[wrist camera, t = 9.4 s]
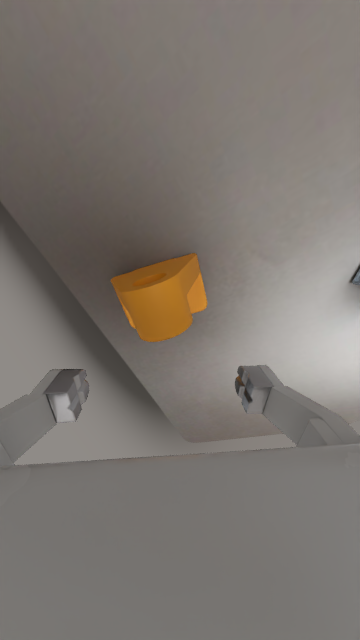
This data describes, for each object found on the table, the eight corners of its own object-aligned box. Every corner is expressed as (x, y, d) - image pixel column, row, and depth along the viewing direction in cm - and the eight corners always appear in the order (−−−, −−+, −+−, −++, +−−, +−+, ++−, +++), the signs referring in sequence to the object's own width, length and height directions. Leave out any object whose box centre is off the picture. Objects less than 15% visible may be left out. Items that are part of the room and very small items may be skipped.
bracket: (135, 322, 27) (118, 379, 16) (115, 275, 24) (77, 308, 13) (204, 302, 27) (232, 346, 16) (193, 252, 24) (218, 265, 13)
